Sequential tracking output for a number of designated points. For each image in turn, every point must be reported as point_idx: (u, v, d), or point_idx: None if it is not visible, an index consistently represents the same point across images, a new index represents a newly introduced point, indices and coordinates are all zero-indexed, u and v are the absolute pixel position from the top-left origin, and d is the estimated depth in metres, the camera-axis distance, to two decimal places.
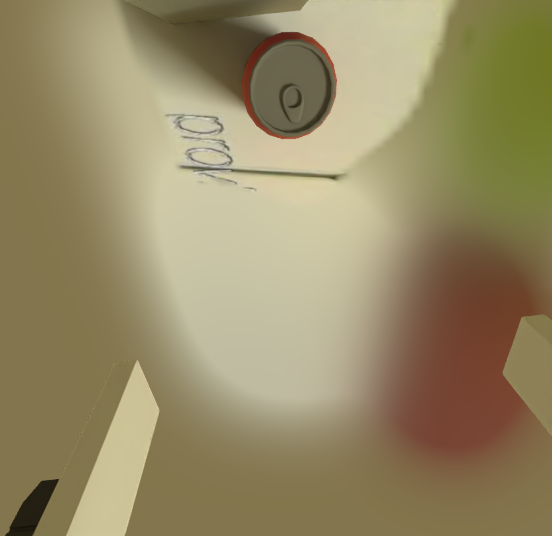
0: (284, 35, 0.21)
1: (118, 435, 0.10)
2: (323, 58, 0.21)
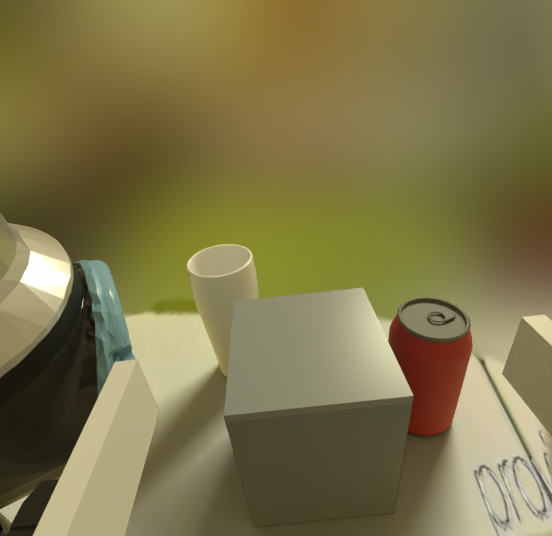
0: (395, 333, 0.29)
1: (118, 435, 0.10)
2: (404, 303, 0.30)
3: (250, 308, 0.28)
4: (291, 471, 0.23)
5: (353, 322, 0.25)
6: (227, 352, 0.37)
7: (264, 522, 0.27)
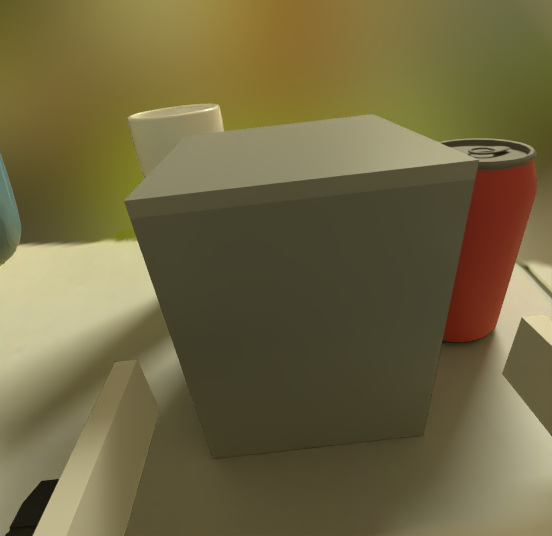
0: None
1: (118, 435, 0.10)
2: None
3: (207, 136, 0.19)
4: (260, 346, 0.14)
5: (360, 130, 0.16)
6: None
7: (226, 448, 0.17)
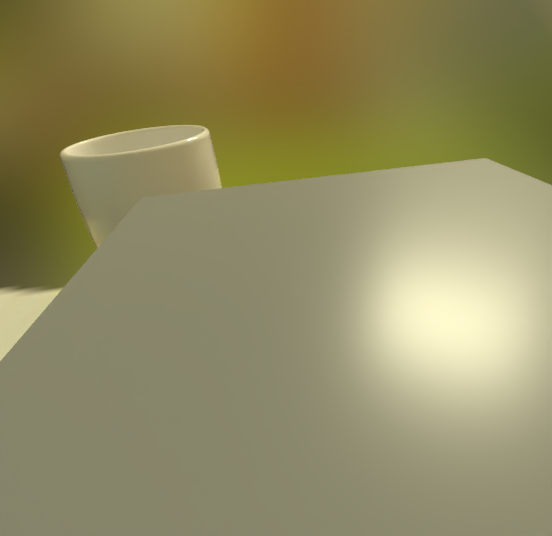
0: None
1: None
2: None
3: (178, 205, 0.10)
4: None
5: (513, 216, 0.07)
6: None
7: None
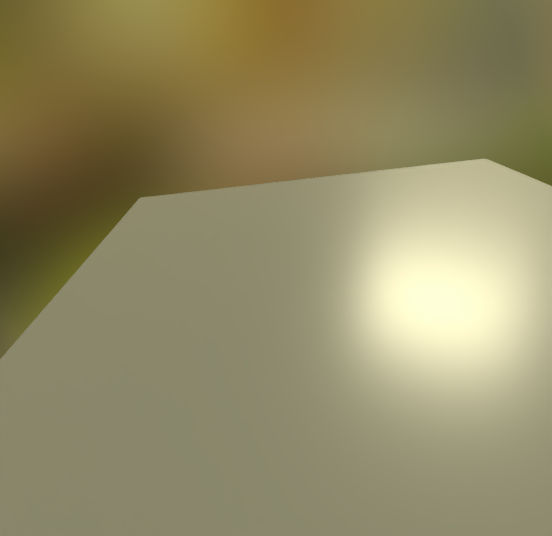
0: None
1: None
2: None
3: (177, 206, 0.10)
4: None
5: (512, 217, 0.07)
6: None
7: None
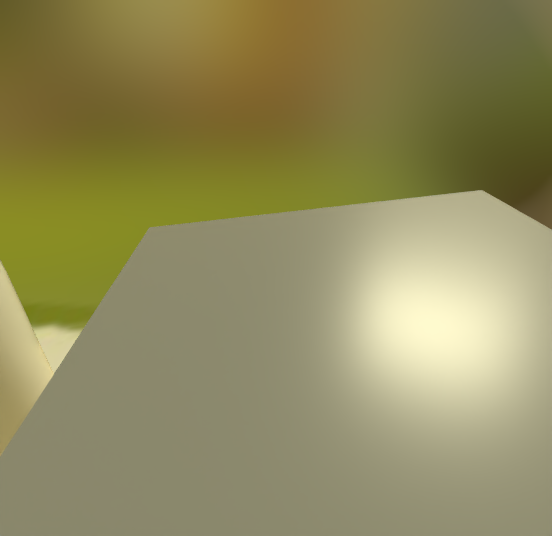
0: None
1: None
2: None
3: (186, 238, 0.10)
4: None
5: (505, 260, 0.08)
6: None
7: None
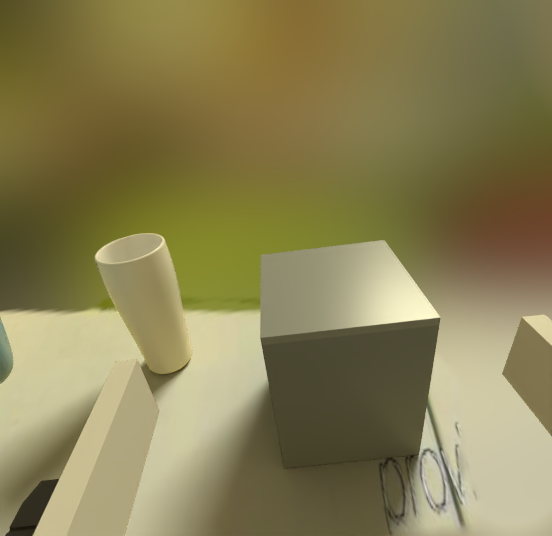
0: None
1: (118, 435, 0.10)
2: None
3: (277, 259, 0.30)
4: (321, 403, 0.24)
5: (377, 266, 0.27)
6: (145, 344, 0.36)
7: (293, 462, 0.28)
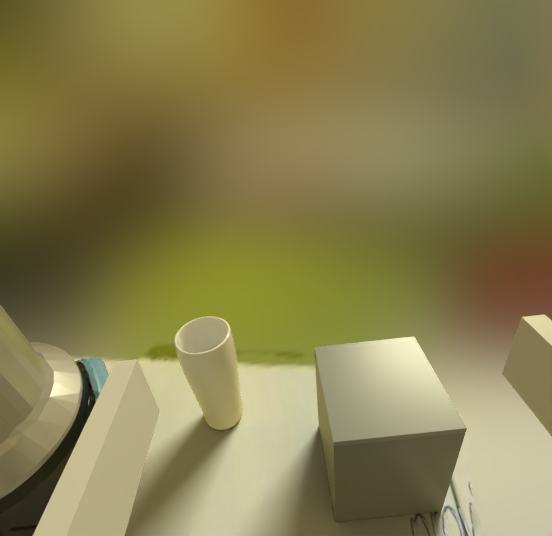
0: None
1: (118, 435, 0.10)
2: None
3: (329, 353, 0.37)
4: (371, 480, 0.32)
5: (412, 367, 0.34)
6: (210, 409, 0.43)
7: (343, 518, 0.35)
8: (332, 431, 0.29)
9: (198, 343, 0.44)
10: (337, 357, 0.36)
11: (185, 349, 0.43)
